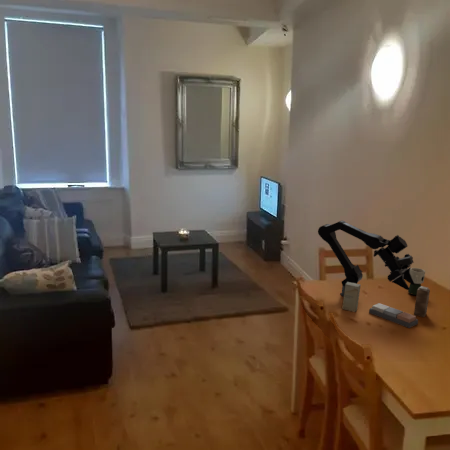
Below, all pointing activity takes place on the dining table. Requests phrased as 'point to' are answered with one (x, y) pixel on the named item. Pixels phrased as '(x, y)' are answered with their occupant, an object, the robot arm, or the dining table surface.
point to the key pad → (390, 314)
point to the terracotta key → (406, 317)
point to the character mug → (416, 279)
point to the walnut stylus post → (421, 301)
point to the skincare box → (351, 296)
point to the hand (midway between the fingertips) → (411, 286)
